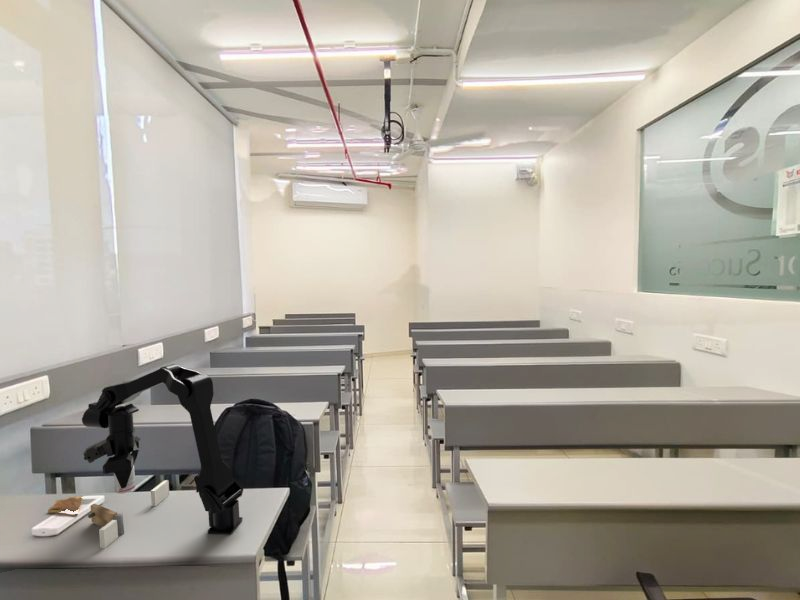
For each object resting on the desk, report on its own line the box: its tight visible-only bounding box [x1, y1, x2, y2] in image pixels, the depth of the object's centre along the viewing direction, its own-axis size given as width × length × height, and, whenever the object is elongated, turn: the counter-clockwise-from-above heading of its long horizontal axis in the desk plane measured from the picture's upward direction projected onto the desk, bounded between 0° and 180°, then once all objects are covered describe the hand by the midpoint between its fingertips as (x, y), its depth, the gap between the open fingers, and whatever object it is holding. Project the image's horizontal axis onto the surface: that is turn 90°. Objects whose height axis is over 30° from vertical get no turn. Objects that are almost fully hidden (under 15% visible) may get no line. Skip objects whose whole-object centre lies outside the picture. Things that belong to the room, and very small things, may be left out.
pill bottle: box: [113, 464, 137, 494], centre depth 115 cm, size 5×5×8 cm
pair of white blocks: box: [98, 479, 170, 549], centre depth 112 cm, size 2×24×5 cm, turn 175°
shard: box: [47, 496, 84, 514], centre depth 118 cm, size 11×8×2 cm
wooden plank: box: [87, 503, 118, 528], centre depth 108 cm, size 10×2×5 cm, turn 63°
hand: (125, 483), depth 115 cm, fingers closed on pill bottle, 5 cm apart
